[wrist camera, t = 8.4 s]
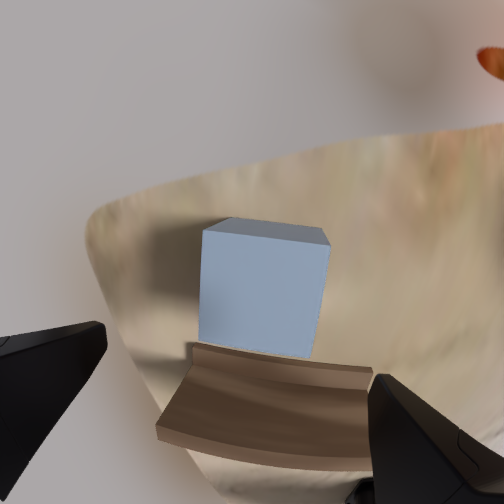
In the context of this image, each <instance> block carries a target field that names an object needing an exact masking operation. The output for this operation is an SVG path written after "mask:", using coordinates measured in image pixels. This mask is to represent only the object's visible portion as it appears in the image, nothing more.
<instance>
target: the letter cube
mask: <svg viewBox="0 0 504 504" xmlns="http://www.w3.org/2000/svg"><path fill="white" fill-rule="evenodd" d="M330 250H331V245H330V243H329V241H328V239H327V237H326V236H325V234H324V232H323V230H322V228H316V227H309V226H301V225H293V224H285V223H277V222H269V221H260V220H251V219H242V218H233V217H231V218H228V219H226V220H224V221H222V222H220V223H217V224H215V225H213V226H211V227H208V228H206V229H204V230H203V238H202V255H201V275H200V300H199V339H198V340H199V341H204V342H209V343H214V344H219V345H224V346H230V347H235V348H241V349H247V350H253V351H259V352H266V353H273V354H280V355H287V356H295V357H303V358H310V355H311V351H312V346H313V342H314V337H315V332H316V328H317V323H318V318H319V313H320V308H321V302H322V297H323V291H324V286H325V280H326V274H327V268H328V262H329V256H330Z"/></svg>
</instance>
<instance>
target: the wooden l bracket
mask: <svg viewBox="0 0 504 504" xmlns="http://www.w3.org/2000/svg"><path fill="white" fill-rule="evenodd" d="M372 375H373V370H372V368H371V367H358V366H346V365H335V364H325V363H316V362H307V361H299V360H292V359H285V358H278V357H271V356H265V355H259V354H253V353H247V352H241V351H236V350H230V349H225V348H220V347H215V346H210V345H206V344H201V343H195V344H194V346H193V348H192V366H191V368H190V369H189V371H188V373H187V374H186V376H185V378H184V379H183V381H182V382H181V384H180V386H179V387H178V389H177V391H176V392H175V394H174V395H173V397H172V399H171V400H170V402H169V404H168V405H167V407H166V408H165V410H164V412H163V413H162V415H161V416H160V418H159V420H158V421H157V423H156V431H157V436H158V440H161V441H164V442H167V443H170V444H173V445H176V446H180V447H183V448H187V449H190V450H194V451H197V452H201V453H205V454H209V455H214V456H218V457H222V458H227V459H232V460H237V461H242V462H248V463H254V464H260V465H267V466H274V467H282V468H291V469H302V470H317V471H373V470H372V462H371V454H370V447H369V436H368V404H367V398H368V392H367V388H368V386H369V383H370V381H371V378H372Z"/></svg>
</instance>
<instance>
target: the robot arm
mask: <svg viewBox="0 0 504 504" xmlns="http://www.w3.org/2000/svg"><path fill="white" fill-rule="evenodd" d="M107 345H108V343H107V335H106V328H105V325H104V324H103V323H100V322H97V321H89V322H84V323H79V324H75V325H69V326H63V327H58V328H53V329H47V330H41V331H36V332H30V333H24V334H18V335H13V336H11V337H10V336H6V337H0V500H1V501H5V499H6V498H7V496H8V495H9V493H10V491H11V490H12V488H13V487H14V485H15V484H16V482H17V480H18V479H19V477H20V476H21V474H22V473H23V471H24V470H25V468H26V467H27V465H28V463H29V461H30V460H31V459H32V457H33V456H34V454H35V453H36V451H37V450H38V449H39V447H40V446H41V444H42V443H43V441H44V440H45V438H46V437H47V436H48V434H49V433H50V431H51V430H52V429H53V427H54V426H55V424H56V423H57V422H58V420H59V419H60V417H61V416H62V415H63V413H64V412H65V411H66V409H67V408H68V406H69V405H70V404H71V402H72V401H73V400H74V398H75V397H76V396H77V394H78V393H79V392H80V390H81V389H82V388H83V386H84V385H85V384H86V382H87V381H88V379H89V378H90V376H91V375H92V373H93V371H94V370H95V368H96V366H97V365H98V363H99V361H100V360H101V358H102V357H103V355H104V353H105V352H106V350H107ZM367 404H368V436H369V447H370V454H371V462H372V470H373V479H363V480H361V481H360V482H359V483H358V485H357V486H356V488H355V489H354V490H353V492H352V493H351V494H350V495H349V497H348V498H347V499H346V501H345V504H504V457H502V456H500V455H499V454H497V453H495V452H494V451H492V450H490V449H489V448H487V447H486V446H484V445H482V444H481V443H479V442H478V441H477V440H475V439H474V438H472V437H471V436H470V435H468V434H467V433H466V432H464V431H463V430H462V429H459V427H458V426H456V425H455V424H454V423H452V422H451V421H450V420H448V419H447V418H446V417H444V416H443V415H442V414H441V413H439V412H438V411H437V410H435V409H434V408H433V407H431V406H430V405H429V404H428V403H426V402H425V401H424V400H422V399H421V398H420V397H418V396H417V395H416V394H415V393H413V392H412V391H411V390H409V389H408V388H407V387H405V386H404V385H403V384H402V383H400V382H399V381H398V380H396V379H395V378H394V377H393V376H391V375H390V374H377V375H376V376H375V379H374V381H373V384H372V386H371V389H370V391H369V394H368V398H367Z"/></svg>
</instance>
